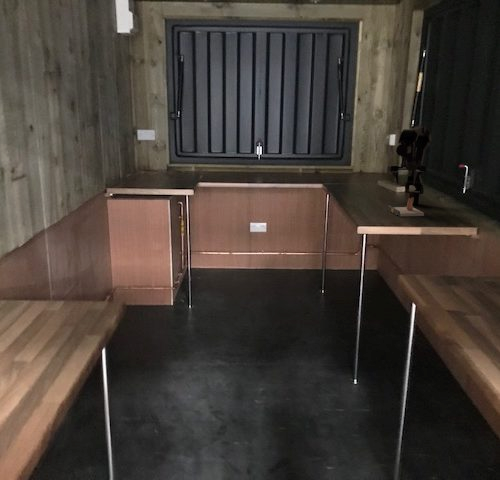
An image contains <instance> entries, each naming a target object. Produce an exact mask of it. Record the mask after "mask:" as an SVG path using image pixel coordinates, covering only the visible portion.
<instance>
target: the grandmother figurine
mask: <svg viewBox="0 0 500 480" xmlns="http://www.w3.org/2000/svg"><path fill="white" fill-rule="evenodd" d="M414 190H416V188H415V187H414V186H413V185H410V186H409V192H410V193H408V199H409V200H407V202H408V203H406V207H407V210H408V211H413V208H414V205H412V204H413V200H414V193H413V192H414Z"/></svg>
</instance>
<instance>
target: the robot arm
mask: <svg viewBox="0 0 500 480" xmlns="http://www.w3.org/2000/svg"><path fill="white" fill-rule="evenodd" d="M432 139H433V138H432V134H431V132H430V131H429V130H428V129H427V128H426V126H425V125H417V126H416V125H415V127H413V128H411V129H410V128H409V129H408V128H406V129H402V131H401V132H400V136H399V139H398V142H397V143H398V144H399V145H398V146H397V147H396V149H395V152H396V154H397V155H398V156H399V157H400V158H401V163H400V166H399V165H396V164H388V166H387V171H388V172H389V173H391V174H392V176H393V178H394V182H395V185H397V186H398V185H399V171H401V170H402V171H411V174H410V175H408V176H407V179H406V180H407V181H406V182H405V184H404V185H405V187H404V188H405V194H409V193H410V192H409V186H410V185H413V186H414V187H415V188H416V190H414V192H413V193H414V200H413V204H412V205H413V206H421V205H422V203H421V202H420V197H421V196H420V195H423V194H425V191H424V190H425V189H424V184H423V179H422V177H421V175H422V174H423V173H424V172H427V166H426V165H425V164H424V159H425V155H426V154H425V153H426V150H427V149H428V148H429V147H430V146H431V145H430V144H431V142H432ZM415 149H416V152H415ZM414 154H415V156H414ZM408 200H409V198H408ZM408 200H407V201H406V202H405V204H407V203H408Z"/></svg>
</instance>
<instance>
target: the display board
mask: <svg viewBox="0 0 500 480" xmlns="http://www.w3.org/2000/svg"><path fill="white" fill-rule="evenodd" d="M388 210H389V211H388ZM387 211H388V212H390V211H391V212H392V214H393V213H394V214H393V215H395V214H396V215H398V216H397V217H424V216H425V213H424V212H423V211H421V210H420V209H418V208H415V207H413V211H408V210H407V206H402V207H401V206H398V207H397V206H395V207H393V206H392V205H388V206H387ZM391 212H390V213H391ZM396 215H395V216H396Z"/></svg>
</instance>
